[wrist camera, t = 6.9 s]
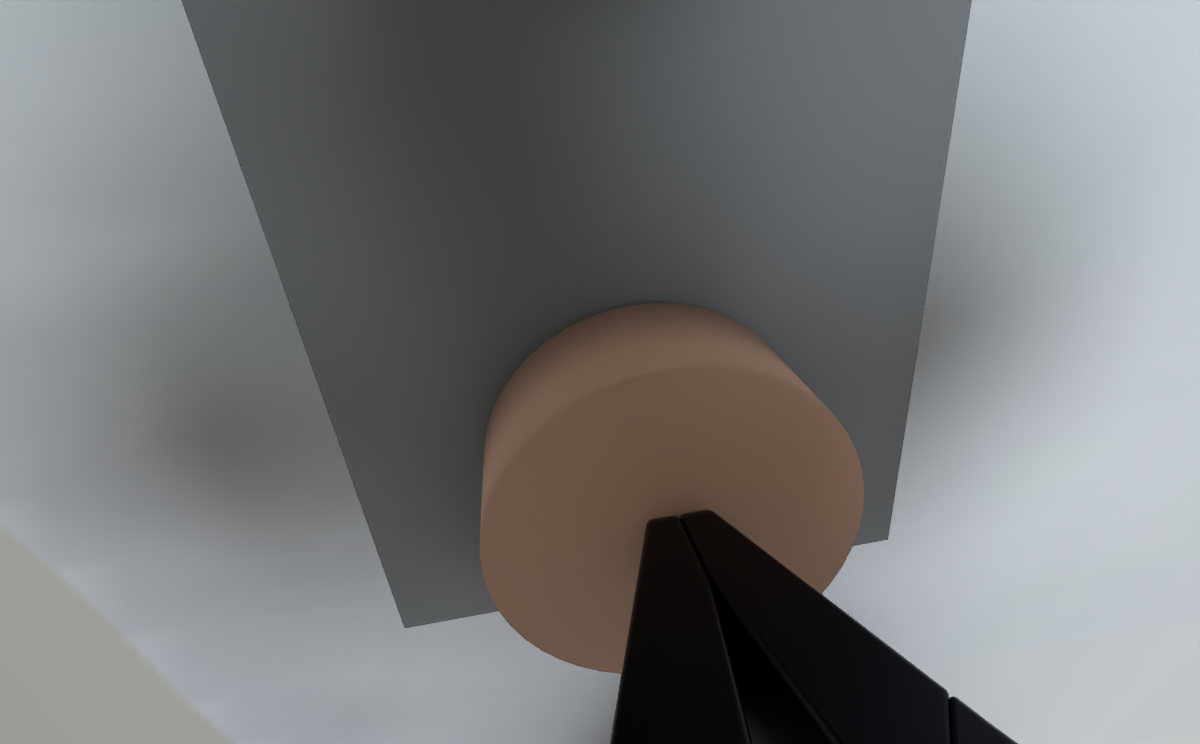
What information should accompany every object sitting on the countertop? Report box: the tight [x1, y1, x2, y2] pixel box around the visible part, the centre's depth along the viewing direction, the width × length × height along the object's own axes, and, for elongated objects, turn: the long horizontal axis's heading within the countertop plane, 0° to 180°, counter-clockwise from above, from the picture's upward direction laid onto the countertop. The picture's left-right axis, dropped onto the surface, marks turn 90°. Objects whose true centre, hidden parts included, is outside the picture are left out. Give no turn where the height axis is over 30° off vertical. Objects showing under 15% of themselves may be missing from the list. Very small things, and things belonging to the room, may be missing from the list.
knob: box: [480, 303, 864, 674], centre depth 10 cm, size 5×5×5 cm
